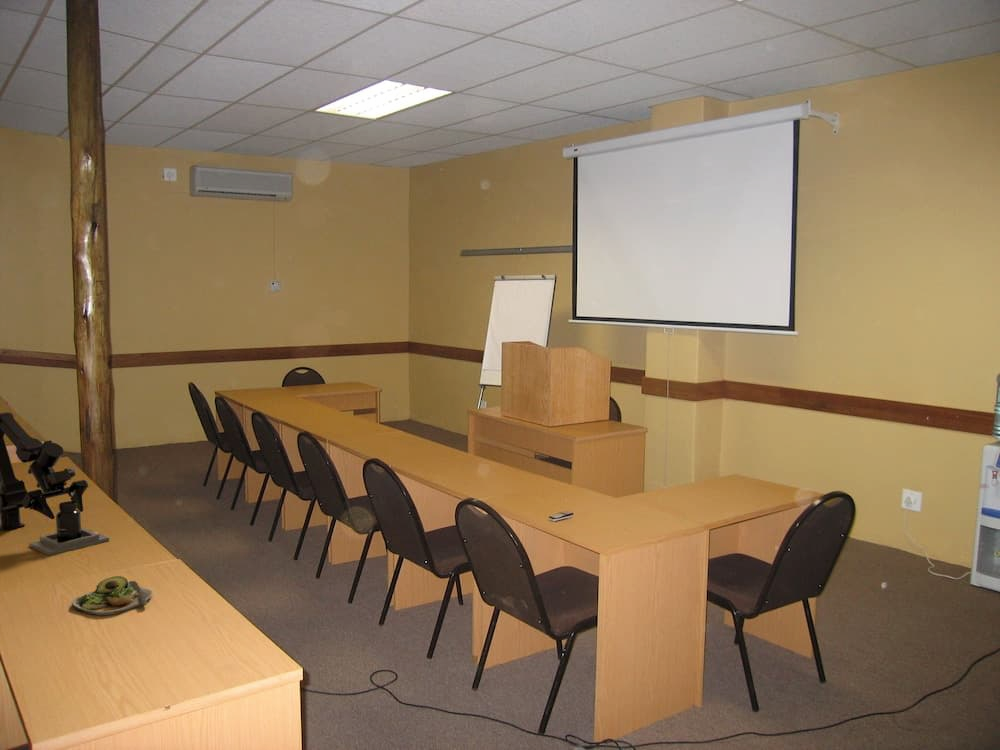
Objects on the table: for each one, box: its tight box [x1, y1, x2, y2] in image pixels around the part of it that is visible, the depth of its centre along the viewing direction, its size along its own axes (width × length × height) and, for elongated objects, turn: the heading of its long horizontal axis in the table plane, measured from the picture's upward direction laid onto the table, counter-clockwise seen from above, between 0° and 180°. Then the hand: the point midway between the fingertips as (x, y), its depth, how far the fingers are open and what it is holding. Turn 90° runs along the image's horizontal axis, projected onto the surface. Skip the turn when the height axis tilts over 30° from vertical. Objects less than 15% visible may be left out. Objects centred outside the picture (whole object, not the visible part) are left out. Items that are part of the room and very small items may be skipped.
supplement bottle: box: [55, 500, 82, 543], centre depth 244 cm, size 7×7×12 cm
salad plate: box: [71, 575, 153, 616], centre depth 199 cm, size 19×18×5 cm
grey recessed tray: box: [29, 526, 110, 556], centre depth 244 cm, size 14×18×2 cm
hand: (68, 514), depth 244 cm, fingers open, 9 cm apart
